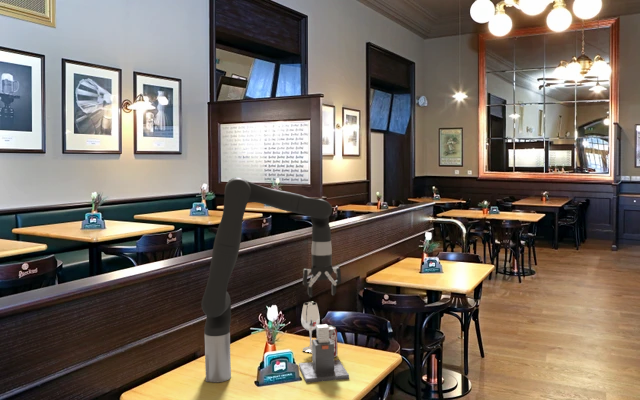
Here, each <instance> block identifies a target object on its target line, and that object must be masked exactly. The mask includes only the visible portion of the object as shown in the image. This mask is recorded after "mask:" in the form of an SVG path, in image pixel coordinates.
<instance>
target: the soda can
mask: <svg viewBox="0 0 640 400" xmlns="http://www.w3.org/2000/svg"><path fill="white" fill-rule="evenodd" d="M328 327H329V338H330V339H331V340H332V342H333V343H334V358H335V357H337V356H338V331H337V329H336V326H333V325H328Z"/></svg>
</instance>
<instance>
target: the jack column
mask: <svg viewBox="0 0 640 400" xmlns="http://www.w3.org/2000/svg"><path fill="white" fill-rule="evenodd" d="M328 326H329V325H328V324H327V323H325V324H319V325H316V329H315V330H316V339H317V344H329V327H328Z"/></svg>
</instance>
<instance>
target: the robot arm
mask: <svg viewBox="0 0 640 400" xmlns="http://www.w3.org/2000/svg"><path fill="white" fill-rule="evenodd" d="M223 199H224V201H223V210H222V214H221V215H222V216H221V219H220V222H219V225H218V228H217V230H216V235H215V237H214V241H213V246H212V247H213V248H212V255H211V259H210V260H211V261H210V267H209V274H208V279H207V283H206V286H205V290H204V293H203V296H202V299H201V310H202V311H203V314H205V316H206V319H205V324H204V328H203V329H204V359H205V360H204V363H205V365H204V366H205V367H204V369H205V382H210V383H222V382H223V383H224V382H226V381H228V380H230V379H231V378H232V371H231V370H232V367H231V364H232V363H231V361H232V360H231V331H230V329H231V323H232V301H231V300H232V299H231V296H230V294H229V292H228V291H227V290H228V284H229V281H230V279H231V275H232V273H233V270H234V269H235V265H236V263H237V260H238V256H239V253H240V252H239V251H240V246H241V239H242V234H243V233H242V231H243V219H244V214H245V212H246V209H247V205H248V202H249V203H251V202H252V203H258V204H262V205H265V206H268V207H271V208H274V209H278V210H280V211H285V212H289V213H295V214H299V215H304V216H308V217H310V218H311V226H312V227H311V228H312V229H311V250H310V251H311V268H303V270H302V285H303V286H306V287H307V295H308V296H309V298H310V297H311V298H312V297H313V285H314V283H316V281H322V280H323V281H327V280H329V282H331V286H330V287H331V295H332V296H335V294H337V285H339V284H342V275H341V268H340V267H338V266H336V267H333V263H332V262H333V258H332V255H333V254H332V253H333V251H332V250H333V249H332V247H333V246H332V230H331V226H330V216H331V215H332V212H333V207H332V205H331V203H330V202H329V201H327V200H325V199H324V198H313V197H308V196H306V195H302V194H299V193H294V192H290V191H285V190H280V189H275V188H269V187H265V186H262V185H258V184H256V183H253V182H251V181H248V180H246V179H244V178H243V177H233V178H230V179H229V180H228V181H227V182H226V184H225V186H224V198H223ZM333 272H334V274H335V276H336V279H335V280H334V278H333V277H332V274H333ZM310 273H311V274H312V276H311V277H310V279H309V281H308V276H309V275H310Z"/></svg>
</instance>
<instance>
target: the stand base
mask: <svg viewBox="0 0 640 400" xmlns="http://www.w3.org/2000/svg"><path fill="white" fill-rule="evenodd" d="M311 360H312V361H311V362H310V361H309V362H299V363H298V368H299V367H300V368H299V370H300V372H301V375H302V376H303V377H302V378H303V379H304V380H305V381H304V382H305V383H306V384H308V383H319V382H328V381H329V382H330V381H340V380H350V374H349V373H348V371H347V370H346V368H345V367H344V365H343V363H342V362H341V361H340V359H335V357H334V343H333V342H332V340H331V339H330V338H329V344H317V338H316V339H313V338H312V353H311Z"/></svg>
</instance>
